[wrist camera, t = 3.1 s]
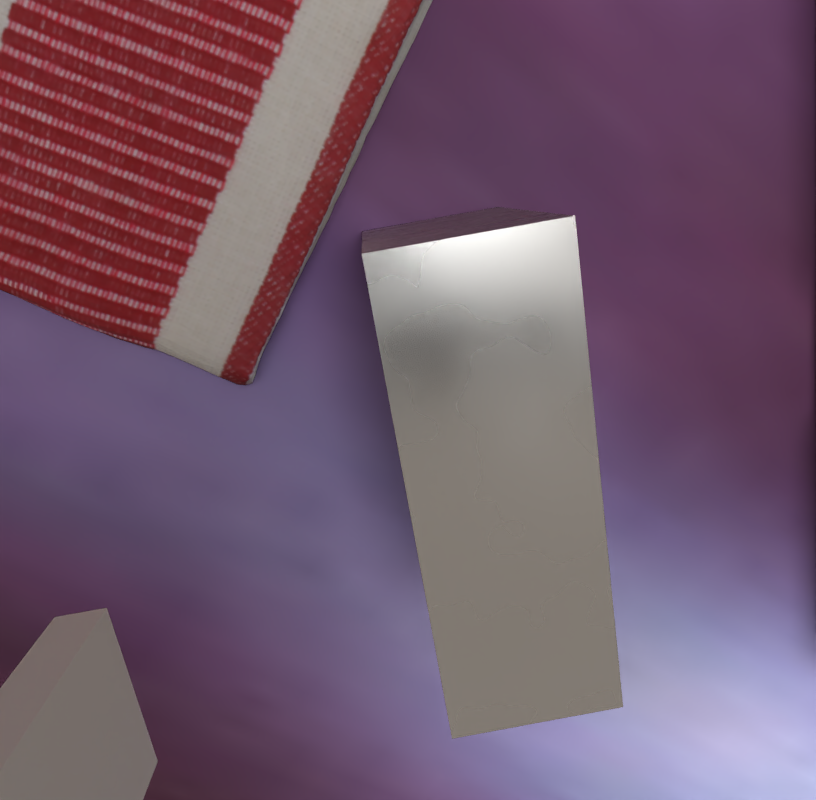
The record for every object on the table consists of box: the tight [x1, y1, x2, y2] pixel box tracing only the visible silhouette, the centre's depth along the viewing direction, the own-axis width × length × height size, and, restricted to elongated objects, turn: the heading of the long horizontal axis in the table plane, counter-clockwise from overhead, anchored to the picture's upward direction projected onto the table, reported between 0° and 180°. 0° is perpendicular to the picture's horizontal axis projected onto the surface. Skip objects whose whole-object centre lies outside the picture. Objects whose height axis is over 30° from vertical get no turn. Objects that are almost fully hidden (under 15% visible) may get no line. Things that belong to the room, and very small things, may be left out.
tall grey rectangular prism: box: [362, 207, 623, 739], centre depth 16 cm, size 10×4×7 cm, turn 10°
